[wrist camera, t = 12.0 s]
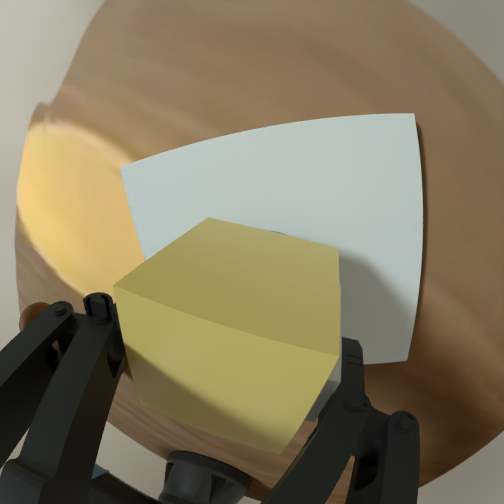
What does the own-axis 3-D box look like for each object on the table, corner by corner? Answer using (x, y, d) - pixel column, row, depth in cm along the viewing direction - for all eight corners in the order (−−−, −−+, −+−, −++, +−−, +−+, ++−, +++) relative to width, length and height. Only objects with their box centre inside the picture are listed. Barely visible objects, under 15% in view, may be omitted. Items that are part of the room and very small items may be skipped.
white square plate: (187, 350, 23) (137, 422, 15) (129, 165, 17) (26, 194, 10) (404, 351, 17) (420, 450, 9) (408, 115, 11) (490, 94, 4)
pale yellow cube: (208, 217, 13) (113, 285, 7) (338, 248, 12) (339, 356, 6) (201, 318, 16) (140, 403, 10) (304, 348, 15) (281, 454, 9)
